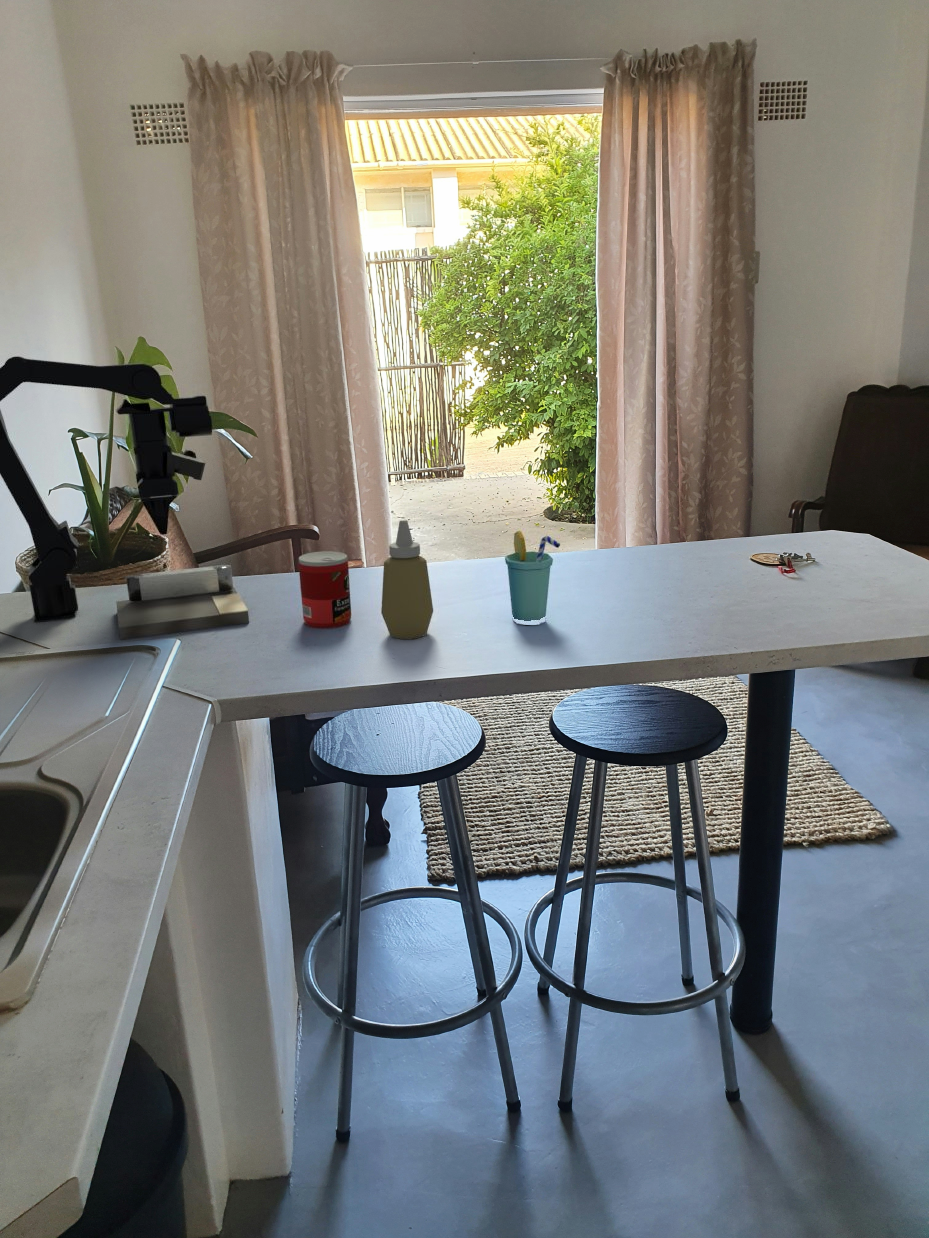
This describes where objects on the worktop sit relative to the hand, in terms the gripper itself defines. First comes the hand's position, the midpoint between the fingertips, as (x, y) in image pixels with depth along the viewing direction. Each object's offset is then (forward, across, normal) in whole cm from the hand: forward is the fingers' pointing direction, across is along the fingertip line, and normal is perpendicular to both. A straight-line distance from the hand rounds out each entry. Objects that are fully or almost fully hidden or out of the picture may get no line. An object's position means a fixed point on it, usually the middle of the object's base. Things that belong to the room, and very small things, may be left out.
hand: (162, 529), depth 157 cm
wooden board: (+13, -12, -1) cm, 17 cm away
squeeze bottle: (+14, -36, -33) cm, 51 cm away
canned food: (+13, -24, -23) cm, 36 cm away
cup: (+14, -39, -53) cm, 67 cm away
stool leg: (+11, -6, -2) cm, 12 cm away
